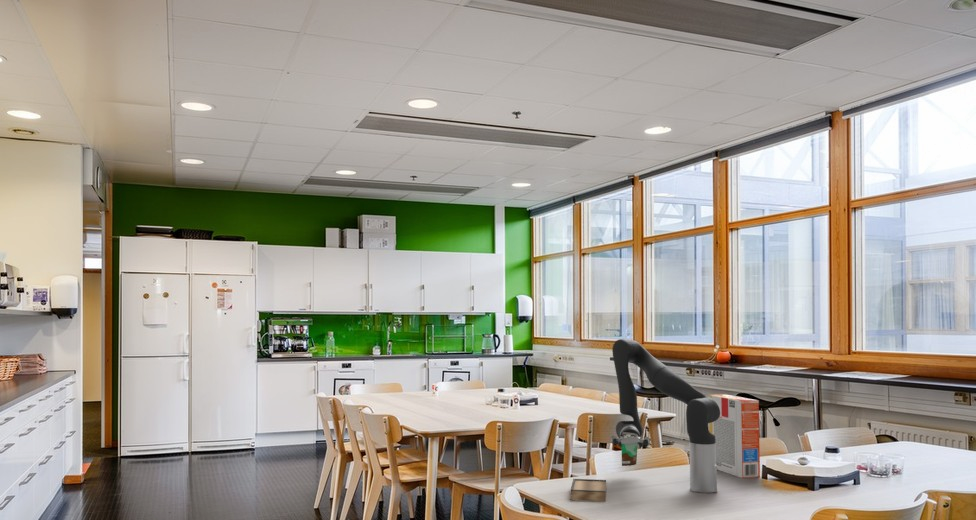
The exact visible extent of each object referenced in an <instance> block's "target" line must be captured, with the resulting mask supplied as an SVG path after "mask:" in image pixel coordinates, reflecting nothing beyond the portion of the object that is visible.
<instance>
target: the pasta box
mask: <svg viewBox="0 0 976 520" xmlns="http://www.w3.org/2000/svg"><path fill="white" fill-rule="evenodd" d="M708 397H710V398H711V399H713V400H714V401H715V402H716V403H717V404H718V406H719V409H720V416H719V418H718V419H717V420H716V421H714V422H711V423H708V430H709V432H710V433H711V434H714V435H715V439H716V465H717V471H721V472H724V473H727V474H730V475H733V476H735V477H738V478H741V479H749V478H760V477H761V463H760V461H761V460H760V459H761V457H760V456H761V455H760V452H761V450H760V407H759V405H760V400H758V399H752V398H747V397H742V396H737V395H730V394H721V393H719V394H708Z"/></svg>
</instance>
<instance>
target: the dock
mask: <svg viewBox="0 0 976 520" xmlns="http://www.w3.org/2000/svg"><path fill="white" fill-rule="evenodd" d="M606 498H607V479H592V478H590V479H589V478H573V479H572V482H571V486H570V501H589V502H591V501H593V502H606V501H607V499H606Z"/></svg>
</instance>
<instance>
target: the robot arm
mask: <svg viewBox="0 0 976 520" xmlns="http://www.w3.org/2000/svg"><path fill="white" fill-rule="evenodd" d="M612 358H613V359H612V360H613V363H614V369H615V374H616V379H617V386H618V392H619V393H618V395H619V396H618V398H619V399H618V401H619V412H620V414H621V415H624V416H629V417H631V418H632V420H621V421H618V422H617V423H616V425H615V433H616V436H615V435H612V436H611V444H612V445H613V446H615V447H616V446H617V447H619V448H622V444H621V438H622V436H623V432H627V433H634V434H637V435H638V437H639V442H638V445H637V448H639V449H641V448H644V447H645V448H647V447H648V446H649V445H650V437H649V436H645V437H643V435H644V434H643V433H644V428H643V426H642V423H641V420H640V416H639V411H638V395H637V390H636V387H635V384H634V382H633V381H632V380H633V379H632V377H631V375H630V370H629V364H634V365H635V366H637V367H638V368H639V369H641V370H642V371H643V372H644V374H645V375H646V377H647V380H648V381H649V383H650V384H651V385H652V386H653V387H654V388H656V389H657V390H658V391H660V393H662V394H664V395H666V396H668V397H670V398H672V399H675V400H676V401H679V402H682V403H684V404H685V405H686V409H685V411H686V412H685V413H686V414H685V416H686V432H687V435H688V438H689V489H690V491H692V492H695V493H703V494H704V493H706V494H708V493H709V494H710V493H718V469H717V465H716V439H715V435H714V434H711V433H710V432H709V423H711V422H714V421H716V420H717V419H718V418H719V416H720V409H719V406H718V404H717V403H716V402H715V401H714V400H713V399H711V398H710V397H709V395H706V394H705V393H703V392H701V391H699V389H697V388H696V387H694V386H692V385H691V384H690V383H689V382H688V381H686V380H685V379H684V378H682V377H681V376H680V375H679V374H677V373H676V372H675V371H674V370H672V369H671V368H669V366H667V365H666V364H664V363H663V362H661V361H660V360H659V359H657V358H656V357H654V356H653V355H652V354H651V353H650V352H649V351H648V350H647V349H646V348H645V347H644V346H643V345H641V343H640V342H638V341H636V340H633V339H625V338H619V339H617V340H615V342H614V343H613V345H612ZM642 437H643V438H642Z"/></svg>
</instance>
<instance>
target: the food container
mask: <svg viewBox="0 0 976 520" xmlns="http://www.w3.org/2000/svg"><path fill="white" fill-rule="evenodd" d="M638 442H639V437H638V435H637V434H634V433H627V432H623V436H622V438H621V444H622V447H621V466H622V467H627V466H628V467H629V466H635V465H637V461H638V460H637V457H638V447H637V445H638Z"/></svg>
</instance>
